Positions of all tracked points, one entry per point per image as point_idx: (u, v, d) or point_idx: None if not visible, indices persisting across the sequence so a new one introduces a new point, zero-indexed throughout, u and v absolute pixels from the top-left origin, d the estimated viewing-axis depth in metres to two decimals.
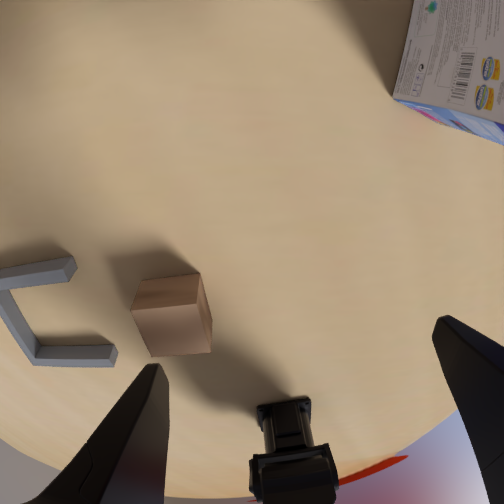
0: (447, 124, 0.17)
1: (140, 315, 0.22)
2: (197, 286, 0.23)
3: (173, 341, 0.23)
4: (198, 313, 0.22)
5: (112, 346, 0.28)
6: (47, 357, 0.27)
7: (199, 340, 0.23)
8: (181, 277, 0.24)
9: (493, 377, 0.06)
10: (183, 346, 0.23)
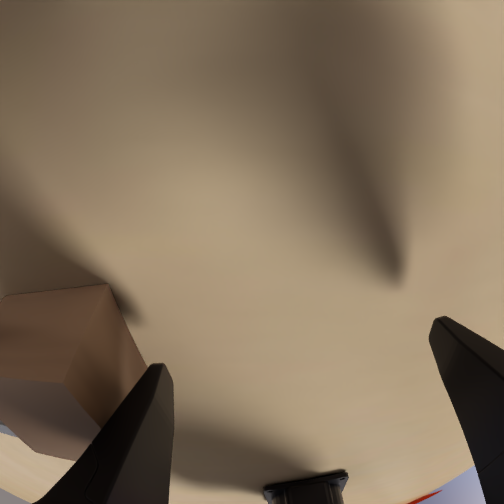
0: None
1: None
2: (85, 324, 0.07)
3: (56, 441, 0.07)
4: (79, 404, 0.06)
5: None
6: None
7: None
8: (65, 295, 0.09)
9: (490, 379, 0.06)
10: (80, 452, 0.08)
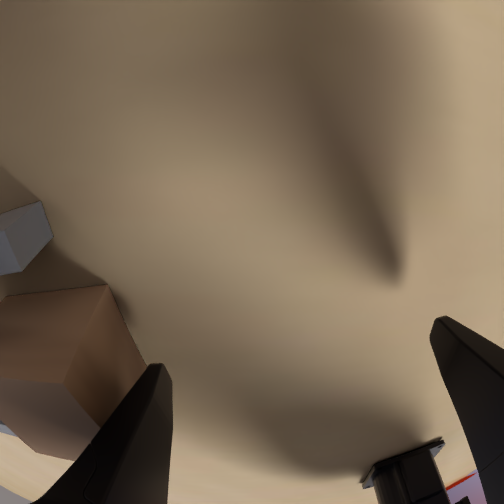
0: None
1: None
2: (85, 325, 0.07)
3: (56, 441, 0.07)
4: (79, 405, 0.06)
5: None
6: None
7: None
8: (65, 296, 0.09)
9: (490, 378, 0.06)
10: (80, 452, 0.08)
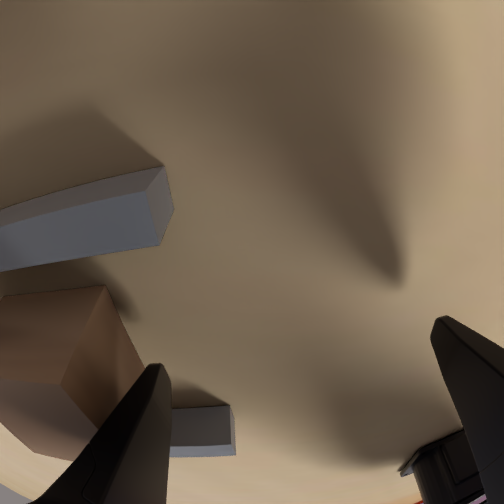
0: None
1: None
2: (82, 326, 0.07)
3: (54, 441, 0.07)
4: (76, 406, 0.06)
5: (227, 410, 0.12)
6: None
7: None
8: (63, 297, 0.09)
9: (491, 378, 0.06)
10: (78, 453, 0.08)
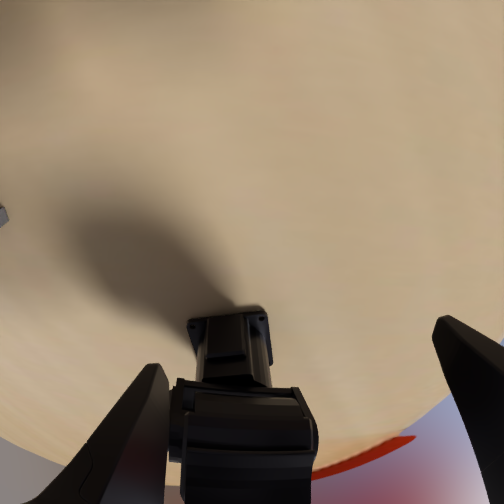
0: None
1: None
2: None
3: None
4: None
5: (1, 208, 0.18)
6: None
7: None
8: None
9: (493, 377, 0.06)
10: None
